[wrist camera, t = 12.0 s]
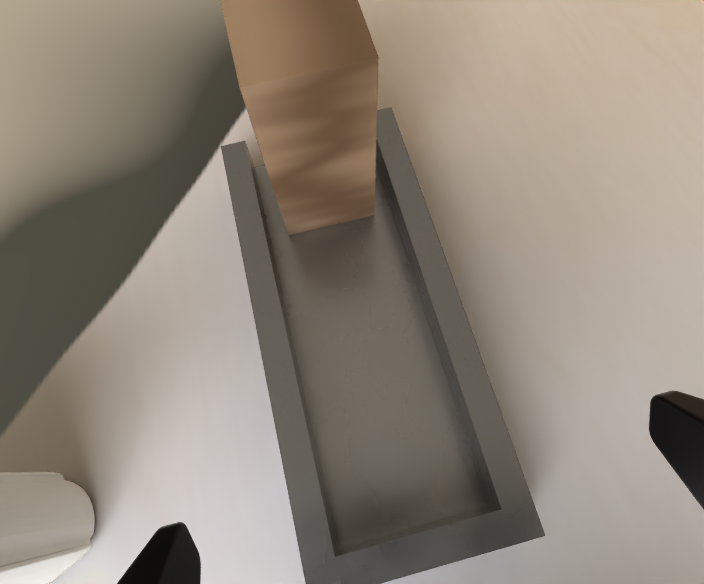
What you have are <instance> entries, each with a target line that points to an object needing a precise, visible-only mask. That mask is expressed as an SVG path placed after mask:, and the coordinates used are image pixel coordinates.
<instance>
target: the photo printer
mask: <svg viewBox="0 0 704 584" xmlns="http://www.w3.org/2000/svg"><path fill="white" fill-rule="evenodd" d="M94 526H95V517H94V510H93V506H92V503H91V501H90V498H89V496H88V495H87V494H86V492H85V491H84V490H83V489H82V488H81V487H80V486H78V485H77V484H75V483H73V482H70V481H66V480H64V477H63V475H62V474H61V473H56V472H0V584H48V583H50V582H51V581H52V580H54V579H55V578H56V577H58V576H59V575H60V574H62V573H63V572H64V571H66V570H67V569H68V568H69V567H71V566H72V565H73V564H74V563H75V562H76V561H78V560H79V559H80V558H81V557H82V556H83V555H84V554H85V553H86V552H87V551H88V550H89V549H90V548H91V547H92V543H91V541H90V538H91V537H92V535H93V533H94Z"/></svg>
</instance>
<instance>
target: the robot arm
mask: <svg viewBox="0 0 704 584" xmlns="http://www.w3.org/2000/svg"><path fill="white" fill-rule="evenodd" d="M649 432H650V436H651V438H652V440H653V442H654V443H655V445H656V446H657V447H658V449H659V450H660V451H661V453H662V454H663V455H664V457H665V458H666V460H667V461H668V462H669V464H670V465H671V466H672V468H673V469H674V470H675V472H676V473H677V474H678V476H679V477H680V478H681V480H682V481H683V482H684V484H685V485H686V486H687V488H688V489H689V491H690V492H691V493H692V495H693V496H694V497H695V499H696V500H697V501H698V503H699V504H700V505H701V506H702V508H703V509H704V400H703V399H700V398H697V397H694V396H691V395H688V394H685V393H682V392H678V391H669V392H665V393H661V394H657V395H655V396H653V398H652V399H651V403H650V420H649ZM200 575H201V563H200V556H199V552H198V550H197V548H196V546H195V544H194V541H193V539H192V537H191V535H190V533H189V531H188V529H187V527H186V525H185V524H184V523H182V522H178V523H174V524H170V525H166V526H163V527H161V528H159V529H158V530H157V531H156V533H155V534H154V535H153V537H152V538H151V539H150V541H149V542H148V543H147V545H146V546H145V547H144V549H143V550H142V551H141V553H140V554H139V555H138V556H137V558H136V559H135V560H134V562H133V563H132V564H131V566H130V567H129V568H128V570H127V571H126V572H125V574H124V575H123V576H122V578H121V579H120V580H119V582H118V583H117V584H200Z"/></svg>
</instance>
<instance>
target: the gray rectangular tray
mask: <svg viewBox="0 0 704 584" xmlns="http://www.w3.org/2000/svg"><path fill="white" fill-rule="evenodd" d="M221 149H222V154H223V159H224V164H225V169H226V174H227V180H228V185H229V190H230V195H231V200H232V205H233V210H234V216H235V221H236V226H237V231H238V236H239V241H240V247H241V252H242V257H243V262H244V267H245V272H246V278H247V283H248V288H249V293H250V298H251V303H252V309H253V314H254V319H255V324H256V329H257V334H258V339H259V345H260V350H261V355H262V360H263V365H264V370H265V376H266V381H267V386H268V391H269V396H270V401H271V407H272V412H273V417H274V422H275V427H276V432H277V438H278V443H279V448H280V453H281V458H282V463H283V469H284V474H285V479H286V484H287V489H288V494H289V499H290V505H291V510H292V515H293V520H294V525H295V530H296V536H297V541H298V546H299V551H300V556H301V561H302V567H303V572H304V577H305V582H306V584H381V583H384V582H387V581H391V580H394V579H398V578H401V577H405V576H408V575H412V574H415V573H418V572H422V571H425V570H429V569H432V568H436V567H439V566H443V565H446V564H449V563H453V562H456V561H460V560H463V559H467V558H470V557H474V556H477V555H481V554H484V553H487V552H491V551H494V550H498V549H501V548H505V547H508V546H512V545H515V544H518V543H522V542H525V541H529V540H532V539H536V538H539V537H543V536H545V533H544V531H543V528H542V525H541V522H540V519H539V517H538V514H537V511H536V508H535V506H534V503H533V500H532V497H531V494H530V492H529V489H528V486H527V483H526V481H525V478H524V475H523V472H522V469H521V467H520V464H519V461H518V458H517V456H516V453H515V450H514V447H513V444H512V442H511V439H510V436H509V433H508V431H507V428H506V425H505V422H504V419H503V417H502V414H501V411H500V408H499V406H498V403H497V400H496V397H495V394H494V392H493V389H492V386H491V383H490V381H489V378H488V375H487V372H486V369H485V367H484V364H483V361H482V358H481V356H480V353H479V350H478V347H477V344H476V342H475V339H474V336H473V333H472V331H471V328H470V325H469V322H468V319H467V317H466V314H465V311H464V308H463V306H462V303H461V300H460V297H459V294H458V292H457V289H456V286H455V283H454V281H453V278H452V275H451V272H450V269H449V267H448V264H447V261H446V258H445V256H444V253H443V250H442V247H441V244H440V242H439V239H438V236H437V233H436V231H435V228H434V225H433V222H432V219H431V217H430V214H429V211H428V208H427V206H426V203H425V200H424V197H423V194H422V192H421V189H420V186H419V183H418V181H417V178H416V175H415V172H414V169H413V167H412V164H411V161H410V158H409V156H408V153H407V150H406V147H405V144H404V142H403V139H402V136H401V133H400V131H399V128H398V125H397V122H396V119H395V117H394V114H393V111H392V108H386V109H382V110H378V111H377V129H376V169H375V210H374V215H371V216H367V217H363V218H358V219H354V220H350V221H346V222H342V223H338V224H334V225H329V226H325V227H321V228H317V229H313V230H309V231H305V232H300V233H296V234H292V235H288V233H287V230H286V227H285V224H284V221H283V218H282V215H281V211H280V208H279V205H278V202H277V199H276V196H275V193H274V190H273V187H272V184H271V181H270V178H269V175H268V172H267V169H266V166H265V165H262V166H258V167H254V164H253V161H252V159H251V156H250V153H249V150H248V148H247V145H246V142H245V141H242V142H238V143H233V144H229V145H225V146H221Z"/></svg>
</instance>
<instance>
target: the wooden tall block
mask: <svg viewBox="0 0 704 584" xmlns="http://www.w3.org/2000/svg"><path fill="white" fill-rule="evenodd" d="M220 1H221V5H222V10H223V14H224V18H225V23H226V28H227V32H228V37H229V41H230V46H231V50H232V55H233V60H234V64H235V69H236V73H237V78H238V82H239V86H240V90H241V93H242V96H243V99H244V102H245V105H246V108H247V111H248V114H249V117H250V120H251V123H252V126H253V129H254V133H255V136H256V139H257V142H258V145H259V148H260V151H261V154H262V157H263V160H264V163H265V166H266V169H267V172H268V175H269V178H270V181H271V184H272V187H273V190H274V193H275V196H276V199H277V202H278V205H279V208H280V211H281V215H282V218H283V221H284V224H285V227H286V230H287V233H288V235H292V234H296V233H300V232H305V231H309V230H313V229H317V228H321V227H325V226H329V225H334V224H338V223H342V222H346V221H350V220H354V219H358V218H363V217H367V216H371V215H374V210H375V169H376V129H377V88H378V55H377V52H376V49H375V47H374V44H373V41H372V38H371V36H370V33H369V30H368V27H367V25H366V22H365V19H364V16H363V14H362V11H361V8H360V5H359V3H358V0H220Z"/></svg>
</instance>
